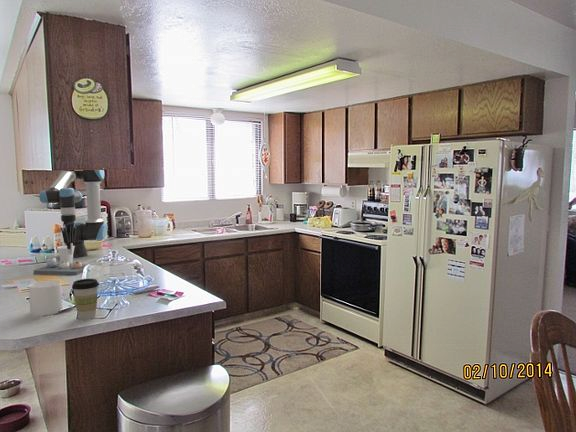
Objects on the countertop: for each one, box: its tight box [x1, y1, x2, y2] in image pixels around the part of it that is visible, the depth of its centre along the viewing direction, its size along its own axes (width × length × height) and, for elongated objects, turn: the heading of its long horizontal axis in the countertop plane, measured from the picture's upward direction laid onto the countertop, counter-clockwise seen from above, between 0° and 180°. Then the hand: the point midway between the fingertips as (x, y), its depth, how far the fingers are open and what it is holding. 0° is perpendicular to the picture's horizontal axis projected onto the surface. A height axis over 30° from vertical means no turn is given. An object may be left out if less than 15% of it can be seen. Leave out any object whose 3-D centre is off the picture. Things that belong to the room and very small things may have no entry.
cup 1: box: [28, 279, 63, 317], centre depth 175 cm, size 12×12×12 cm
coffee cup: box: [71, 278, 100, 321], centre depth 168 cm, size 10×10×15 cm
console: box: [33, 263, 87, 276], centre depth 246 cm, size 18×26×2 cm
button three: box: [72, 261, 83, 269], centre depth 245 cm, size 5×5×5 cm
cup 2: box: [56, 245, 75, 264], centre depth 263 cm, size 10×10×11 cm
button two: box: [59, 261, 69, 269], centre depth 246 cm, size 5×5×5 cm
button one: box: [46, 257, 57, 267], centre depth 246 cm, size 5×5×5 cm
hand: (70, 254), depth 245 cm, fingers closed
